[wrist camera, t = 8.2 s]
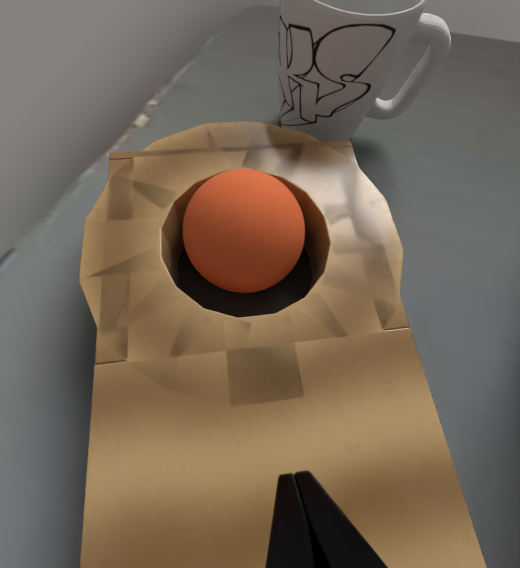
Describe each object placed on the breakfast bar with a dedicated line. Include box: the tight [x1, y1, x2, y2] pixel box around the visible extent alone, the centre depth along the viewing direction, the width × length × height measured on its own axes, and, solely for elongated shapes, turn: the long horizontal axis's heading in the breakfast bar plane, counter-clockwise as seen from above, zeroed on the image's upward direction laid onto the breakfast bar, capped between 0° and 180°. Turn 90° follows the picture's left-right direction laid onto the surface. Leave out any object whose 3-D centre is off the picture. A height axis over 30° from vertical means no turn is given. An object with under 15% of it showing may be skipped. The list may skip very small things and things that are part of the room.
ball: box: [183, 169, 305, 293], centre depth 18 cm, size 7×7×7 cm
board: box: [79, 121, 486, 568], centre depth 16 cm, size 30×17×4 cm, turn 7°
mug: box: [278, 0, 451, 142], centre depth 21 cm, size 11×8×10 cm
